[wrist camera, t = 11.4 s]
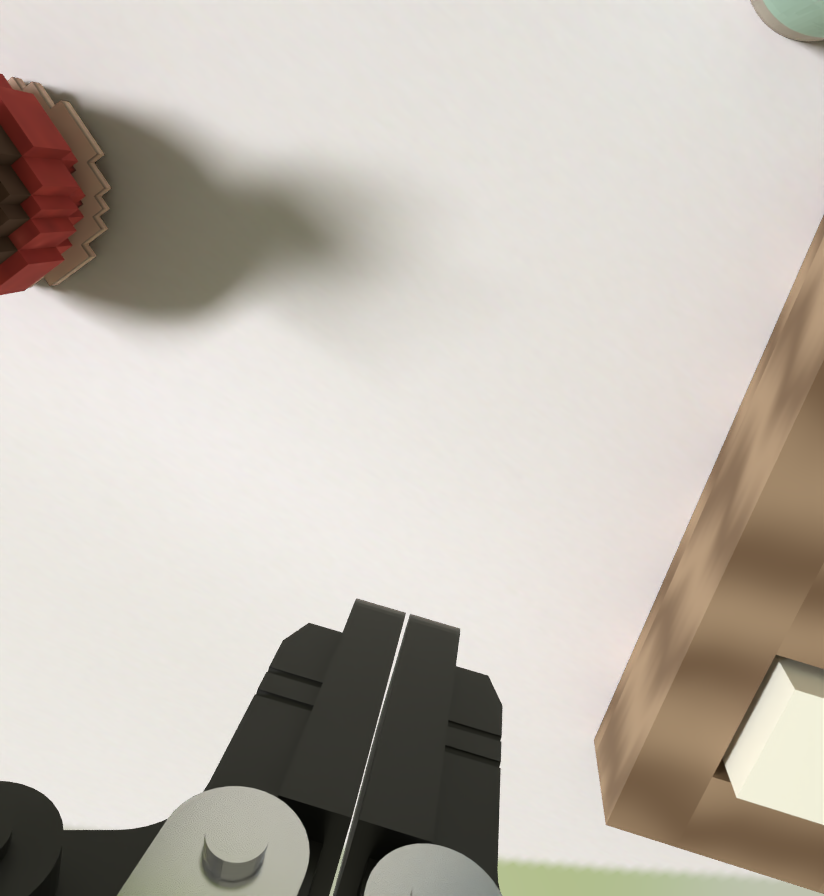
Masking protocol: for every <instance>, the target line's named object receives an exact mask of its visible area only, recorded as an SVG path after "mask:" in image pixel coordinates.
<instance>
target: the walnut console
mask: <svg viewBox="0 0 824 896" xmlns="http://www.w3.org/2000/svg"><path fill="white" fill-rule="evenodd" d="M775 655H779V656H782V657H786V658H789V659H792V660H796V661H799V662H802V663H805V664H809V665H812V666H815V667H819V668H822V669H824V216H823V218H822V220H821V222H820V225H819V227H818V229H817V232H816V234H815V236H814V238H813V241H812V243H811V245H810V248H809V250H808V252H807V254H806V257H805V259H804V261H803V264H802V266H801V268H800V270H799V273H798V275H797V277H796V280H795V282H794V284H793V286H792V289H791V291H790V293H789V296H788V298H787V300H786V302H785V305H784V307H783V309H782V312H781V314H780V316H779V318H778V321H777V323H776V325H775V328H774V330H773V332H772V334H771V337H770V339H769V341H768V344H767V346H766V348H765V350H764V353H763V355H762V357H761V360H760V362H759V364H758V366H757V369H756V371H755V373H754V376H753V378H752V380H751V382H750V385H749V387H748V389H747V392H746V394H745V396H744V398H743V401H742V403H741V405H740V408H739V410H738V412H737V414H736V417H735V419H734V421H733V424H732V426H731V428H730V430H729V433H728V435H727V437H726V440H725V442H724V444H723V446H722V449H721V451H720V453H719V456H718V458H717V460H716V462H715V465H714V467H713V469H712V472H711V474H710V476H709V478H708V481H707V483H706V485H705V488H704V490H703V492H702V494H701V497H700V499H699V501H698V504H697V506H696V508H695V510H694V513H693V515H692V517H691V520H690V522H689V524H688V526H687V529H686V531H685V533H684V536H683V538H682V540H681V542H680V545H679V547H678V549H677V552H676V554H675V556H674V558H673V561H672V563H671V565H670V568H669V570H668V572H667V574H666V577H665V579H664V581H663V584H662V586H661V588H660V590H659V593H658V595H657V597H656V600H655V602H654V604H653V606H652V609H651V611H650V613H649V616H648V618H647V620H646V622H645V625H644V627H643V629H642V632H641V634H640V636H639V638H638V641H637V643H636V645H635V648H634V650H633V652H632V654H631V657H630V659H629V661H628V664H627V666H626V668H625V670H624V673H623V675H622V677H621V680H620V682H619V684H618V686H617V689H616V691H615V693H614V696H613V698H612V700H611V702H610V705H609V707H608V709H607V712H606V714H605V716H604V718H603V721H602V723H601V725H600V728H599V730H598V732H597V734H596V737H595V739H594V744H595V751H596V758H597V765H598V772H599V779H600V786H601V793H602V800H603V808H604V815H605V822H606V825H608V826H611V827H614V828H618V829H621V830H624V831H627V832H630V833H633V834H636V835H640V836H643V837H646V838H649V839H652V840H655V841H659V842H662V843H665V844H668V845H671V846H674V847H677V848H681V849H684V850H687V851H690V852H693V853H696V854H700V855H703V856H706V857H709V858H712V859H715V860H718V861H722V862H725V863H728V864H731V865H734V866H737V867H741V868H744V869H747V870H750V871H753V872H756V873H759V874H763V875H766V876H769V877H772V878H775V879H778V880H782V881H785V882H788V883H791V884H794V885H797V886H800V887H804V888H807V889H810V890H813V891H816V892H820V893H823V894H824V825H822V824H819V823H816V822H813V821H809V820H806V819H803V818H800V817H797V816H793V815H790V814H787V813H784V812H781V811H777V810H774V809H771V808H768V807H765V806H761V805H758V804H755V803H752V802H749V801H745V800H742V799H739V798H737V797H736V795H735V792H734V789H733V787H732V784H731V781H730V778H729V776H728V773H727V770H726V767H725V765H724V762H723V759H722V757H723V756H724V754H725V752H726V750H727V748H728V746H729V744H730V742H731V740H732V738H733V736H734V734H735V732H736V731H737V729H738V727H739V725H740V723H741V721H742V719H743V717H744V715H745V713H746V711H747V709H748V707H749V706H750V704H751V702H752V700H753V698H754V696H755V694H756V692H757V690H758V688H759V686H760V684H761V682H762V681H763V679H764V677H765V675H766V673H767V671H768V669H769V667H770V665H771V663H772V661H773V659H774V657H775Z"/></svg>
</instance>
